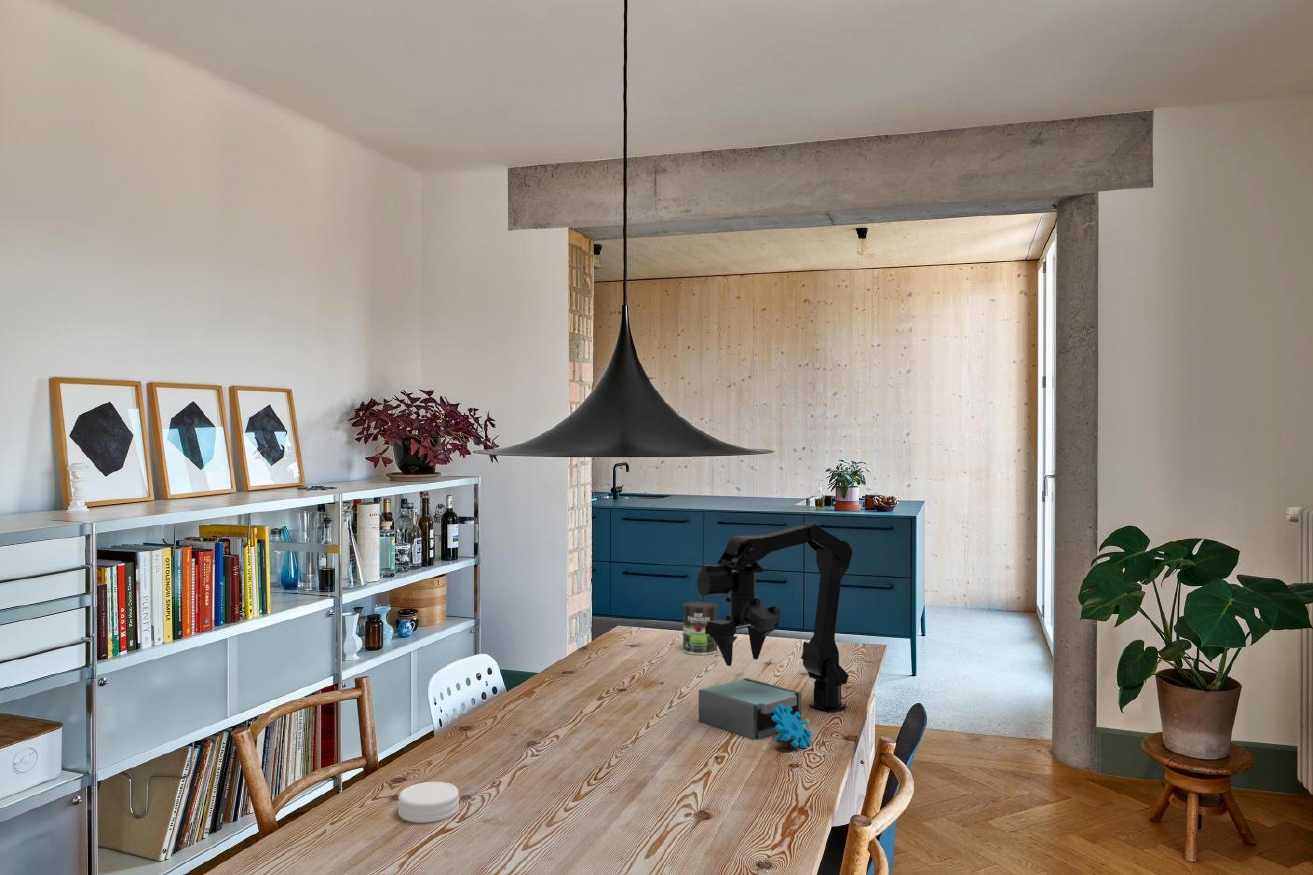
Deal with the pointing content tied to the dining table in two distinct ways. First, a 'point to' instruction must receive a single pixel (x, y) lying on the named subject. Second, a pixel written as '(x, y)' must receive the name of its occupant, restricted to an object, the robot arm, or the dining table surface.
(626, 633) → the dining table surface
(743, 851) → the dining table surface
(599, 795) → the dining table surface
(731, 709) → the grey drawer box
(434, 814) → the coaster
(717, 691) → the sliding box lid
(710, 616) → the coffee can
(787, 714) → the gear
